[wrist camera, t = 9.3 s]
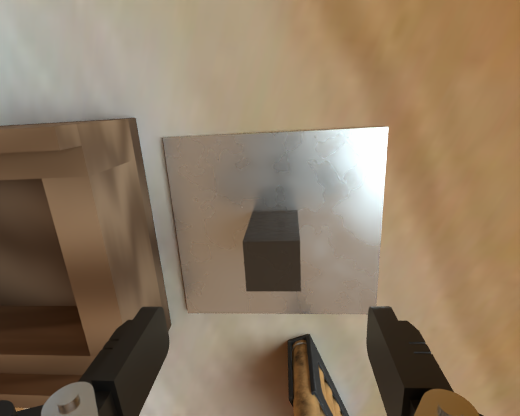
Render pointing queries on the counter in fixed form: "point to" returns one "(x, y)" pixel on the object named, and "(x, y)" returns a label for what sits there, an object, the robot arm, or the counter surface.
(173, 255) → the counter surface
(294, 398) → the ammunition clip
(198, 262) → the cover plate
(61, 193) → the walnut box
